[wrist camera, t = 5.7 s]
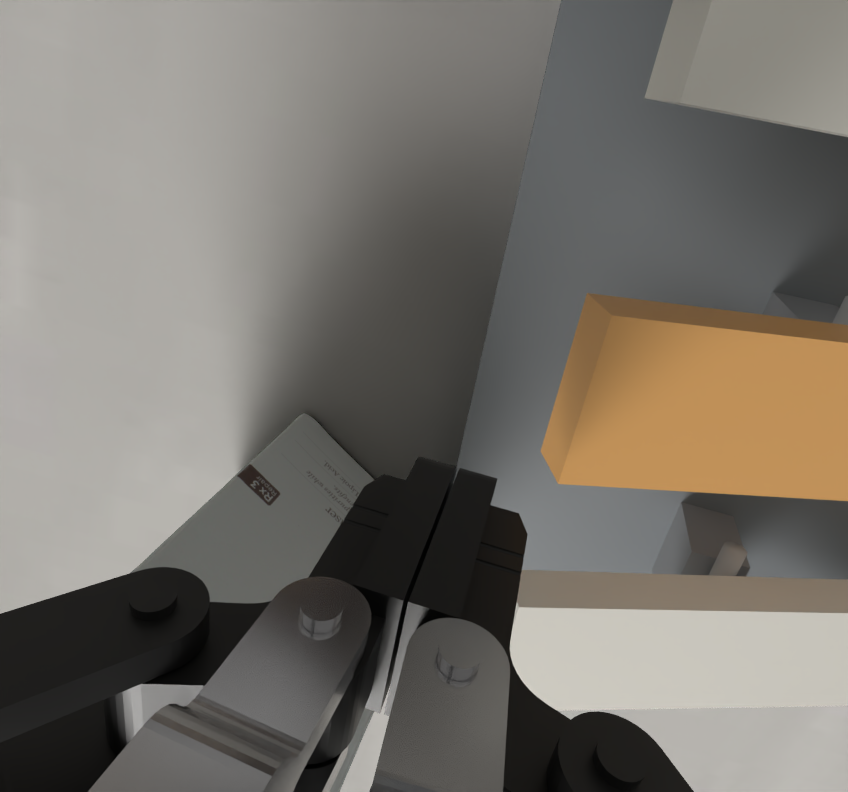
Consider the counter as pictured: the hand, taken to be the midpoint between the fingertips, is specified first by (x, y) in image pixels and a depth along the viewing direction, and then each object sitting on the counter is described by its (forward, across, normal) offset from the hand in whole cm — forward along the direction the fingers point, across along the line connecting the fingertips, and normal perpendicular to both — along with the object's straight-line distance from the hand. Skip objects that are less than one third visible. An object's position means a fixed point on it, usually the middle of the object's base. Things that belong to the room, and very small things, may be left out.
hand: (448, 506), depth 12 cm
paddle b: (+6, -7, -2) cm, 9 cm away
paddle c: (+6, -7, +5) cm, 10 cm away
